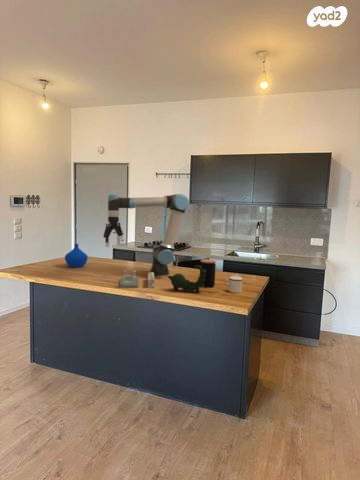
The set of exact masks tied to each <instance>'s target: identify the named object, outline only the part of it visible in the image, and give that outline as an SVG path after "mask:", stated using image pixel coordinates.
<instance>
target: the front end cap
mask: <svg viewBox="0 0 360 480" xmlns="http://www.w3.org/2000/svg"><path fill="white" fill-rule="evenodd" d="M122 278H123V279H122V285H135V281H136V278H137V275H136V276H133V281H125V276H124V275H123V276H122Z"/></svg>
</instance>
